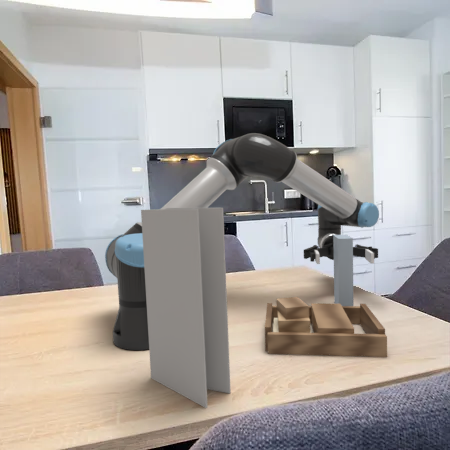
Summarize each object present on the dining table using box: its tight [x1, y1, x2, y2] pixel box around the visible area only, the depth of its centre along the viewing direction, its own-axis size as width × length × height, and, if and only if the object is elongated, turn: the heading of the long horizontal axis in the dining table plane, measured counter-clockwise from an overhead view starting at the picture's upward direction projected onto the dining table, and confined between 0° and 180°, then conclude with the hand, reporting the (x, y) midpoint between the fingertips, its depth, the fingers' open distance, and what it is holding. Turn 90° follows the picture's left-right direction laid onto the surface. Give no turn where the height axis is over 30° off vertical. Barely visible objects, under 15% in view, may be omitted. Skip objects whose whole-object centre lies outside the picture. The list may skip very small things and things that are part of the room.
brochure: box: [140, 207, 232, 409], centre depth 60 cm, size 14×6×30 cm, turn 47°
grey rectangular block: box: [333, 234, 355, 306], centre depth 94 cm, size 4×8×20 cm, turn 171°
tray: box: [264, 302, 388, 358], centre depth 79 cm, size 23×18×5 cm
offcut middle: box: [277, 310, 311, 333], centre depth 79 cm, size 6×9×3 cm
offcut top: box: [275, 296, 310, 320], centre depth 79 cm, size 5×7×2 cm
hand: (345, 258), depth 93 cm, fingers open, 13 cm apart
